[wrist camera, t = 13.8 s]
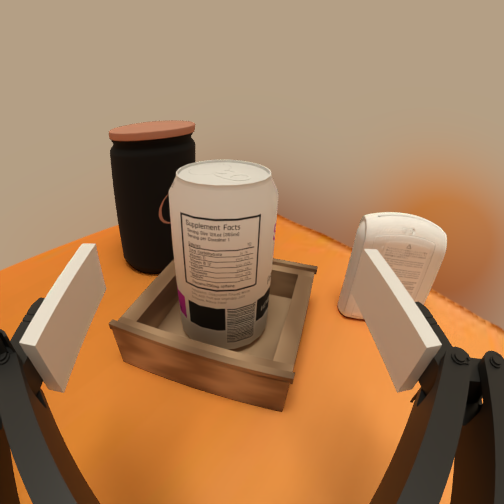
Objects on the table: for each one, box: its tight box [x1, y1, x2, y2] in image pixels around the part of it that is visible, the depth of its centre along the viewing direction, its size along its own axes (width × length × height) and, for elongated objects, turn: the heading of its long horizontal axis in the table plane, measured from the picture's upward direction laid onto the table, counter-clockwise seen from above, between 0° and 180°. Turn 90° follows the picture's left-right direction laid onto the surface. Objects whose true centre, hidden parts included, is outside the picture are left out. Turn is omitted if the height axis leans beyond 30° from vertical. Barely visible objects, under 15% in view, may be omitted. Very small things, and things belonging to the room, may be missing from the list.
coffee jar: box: [109, 121, 195, 274], centre depth 37 cm, size 11×11×18 cm
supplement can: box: [169, 160, 278, 349], centre depth 25 cm, size 8×8×15 cm
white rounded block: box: [338, 212, 447, 319], centre depth 30 cm, size 10×4×12 cm, turn 81°
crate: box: [109, 258, 317, 412], centre depth 29 cm, size 15×15×5 cm
